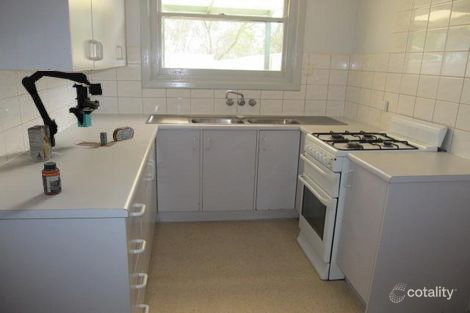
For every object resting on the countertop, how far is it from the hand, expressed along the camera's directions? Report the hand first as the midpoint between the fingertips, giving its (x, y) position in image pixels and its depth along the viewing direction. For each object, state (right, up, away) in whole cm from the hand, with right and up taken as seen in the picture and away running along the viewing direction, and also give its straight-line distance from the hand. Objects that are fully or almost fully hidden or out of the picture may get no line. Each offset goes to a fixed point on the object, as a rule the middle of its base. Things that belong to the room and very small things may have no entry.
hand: (84, 123), depth 203 cm
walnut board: (+5, -12, +2) cm, 14 cm away
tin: (+17, -9, +17) cm, 26 cm away
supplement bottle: (+17, -32, -69) cm, 77 cm away
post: (+10, -12, +1) cm, 16 cm away
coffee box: (-10, -20, -26) cm, 34 cm away
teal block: (0, -1, 0) cm, 1 cm away
